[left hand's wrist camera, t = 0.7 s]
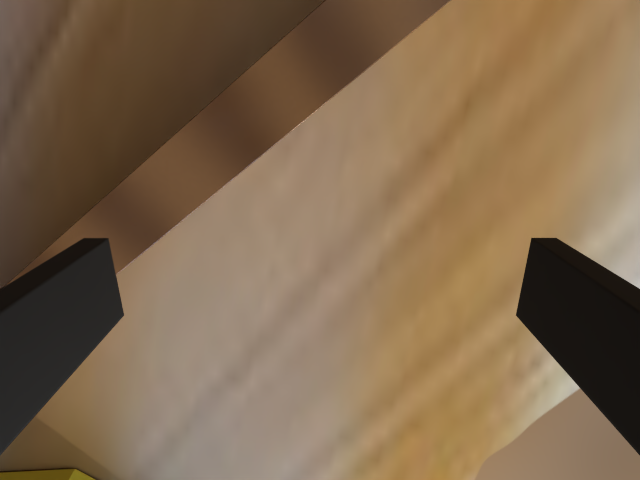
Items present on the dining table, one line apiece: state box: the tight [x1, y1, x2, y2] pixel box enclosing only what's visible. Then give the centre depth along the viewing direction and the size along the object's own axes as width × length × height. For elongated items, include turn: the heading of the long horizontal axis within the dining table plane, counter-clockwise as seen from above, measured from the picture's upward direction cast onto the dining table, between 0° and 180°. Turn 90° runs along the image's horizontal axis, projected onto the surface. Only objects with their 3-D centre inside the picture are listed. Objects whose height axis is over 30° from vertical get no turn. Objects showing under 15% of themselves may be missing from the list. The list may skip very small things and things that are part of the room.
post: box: [5, 0, 451, 286], centre depth 32 cm, size 74×5×8 cm, turn 128°
